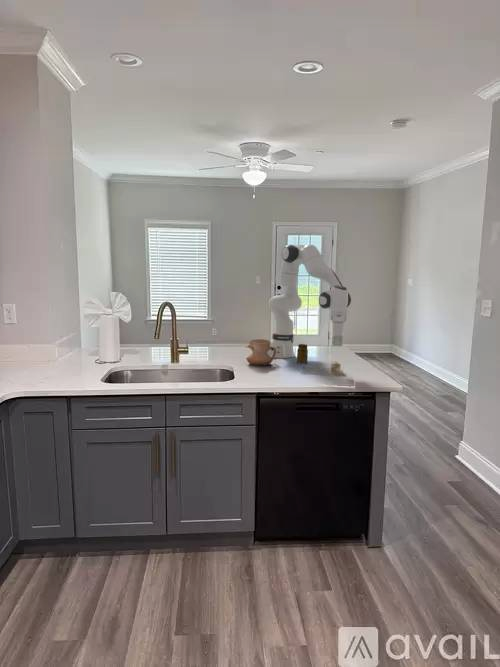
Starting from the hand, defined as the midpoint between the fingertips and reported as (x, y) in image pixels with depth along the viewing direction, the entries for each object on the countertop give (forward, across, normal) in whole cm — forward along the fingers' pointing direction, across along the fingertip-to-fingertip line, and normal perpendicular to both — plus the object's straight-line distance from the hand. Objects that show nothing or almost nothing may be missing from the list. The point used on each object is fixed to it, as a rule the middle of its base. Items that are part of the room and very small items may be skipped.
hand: (337, 342), depth 231 cm
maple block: (+16, 0, 0) cm, 16 cm away
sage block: (+2, 0, 0) cm, 2 cm away
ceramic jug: (+18, -10, -43) cm, 48 cm away
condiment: (+18, -16, -19) cm, 31 cm away
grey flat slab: (+17, +1, -7) cm, 19 cm away
